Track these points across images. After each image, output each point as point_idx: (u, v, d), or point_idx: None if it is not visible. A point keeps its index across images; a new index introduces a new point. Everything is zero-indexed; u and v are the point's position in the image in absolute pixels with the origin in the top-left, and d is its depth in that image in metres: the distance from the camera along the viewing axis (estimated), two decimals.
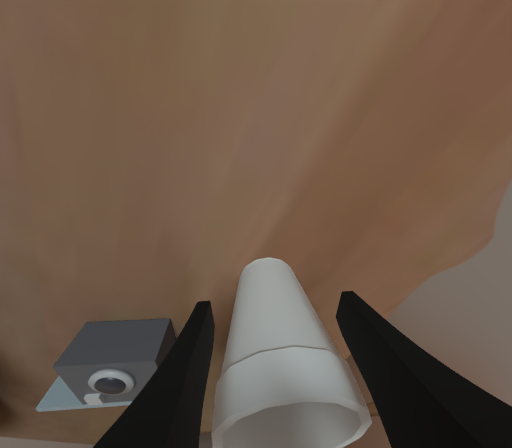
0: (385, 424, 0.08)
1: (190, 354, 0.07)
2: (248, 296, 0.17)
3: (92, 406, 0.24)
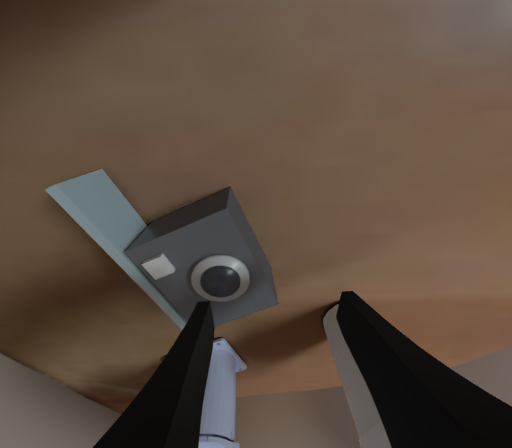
0: (386, 424, 0.08)
1: (190, 354, 0.07)
2: None
3: (122, 263, 0.14)
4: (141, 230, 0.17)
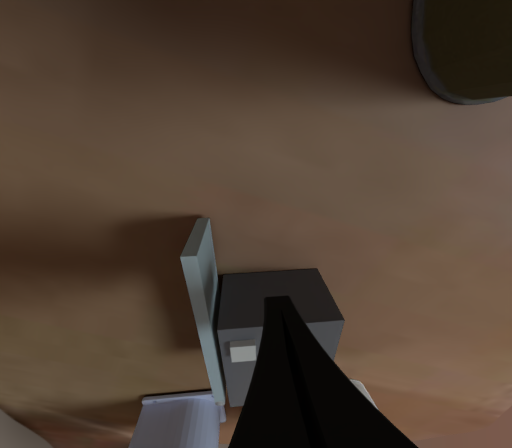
0: None
1: (283, 346, 0.08)
2: None
3: (204, 337, 0.12)
4: (216, 288, 0.15)
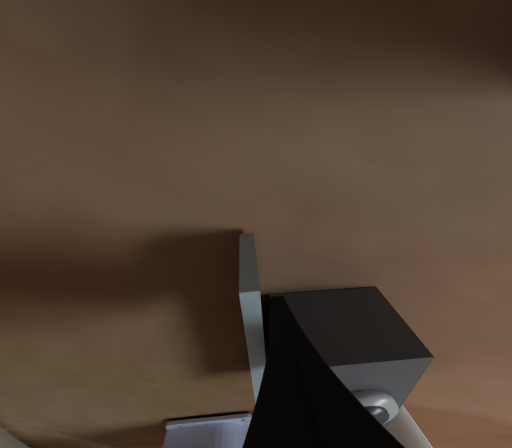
0: None
1: (293, 346, 0.08)
2: None
3: (257, 379, 0.10)
4: None
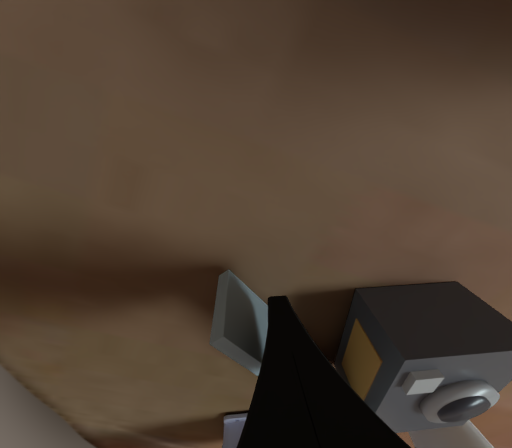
0: None
1: (289, 346, 0.08)
2: None
3: None
4: None
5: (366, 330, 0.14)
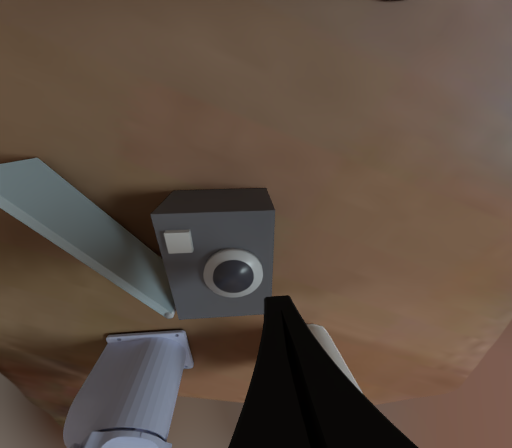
0: None
1: (284, 346, 0.08)
2: (346, 367, 0.22)
3: (69, 249, 0.13)
4: (95, 216, 0.16)
5: None
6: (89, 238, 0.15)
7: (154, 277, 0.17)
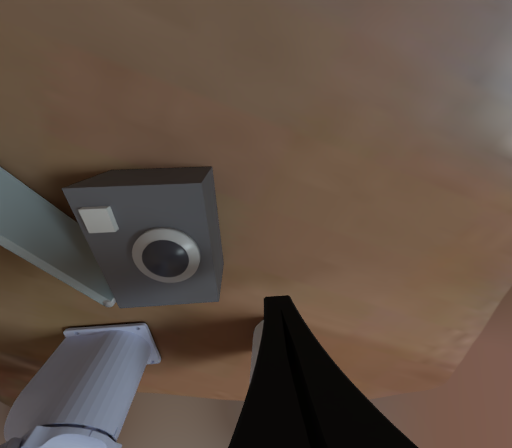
0: None
1: (283, 346, 0.08)
2: None
3: None
4: (24, 197, 0.15)
5: None
6: (9, 219, 0.13)
7: (94, 263, 0.16)
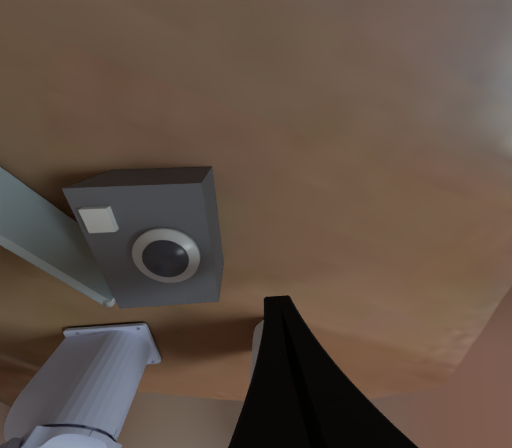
0: None
1: (283, 346, 0.08)
2: None
3: None
4: (24, 197, 0.15)
5: None
6: (9, 219, 0.13)
7: (94, 263, 0.16)
